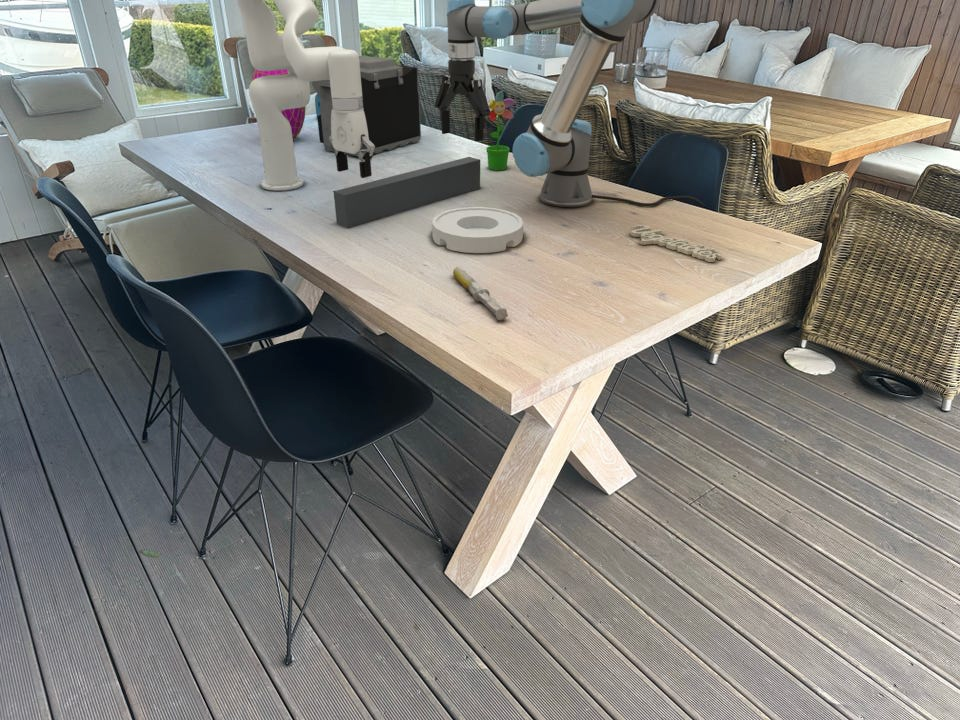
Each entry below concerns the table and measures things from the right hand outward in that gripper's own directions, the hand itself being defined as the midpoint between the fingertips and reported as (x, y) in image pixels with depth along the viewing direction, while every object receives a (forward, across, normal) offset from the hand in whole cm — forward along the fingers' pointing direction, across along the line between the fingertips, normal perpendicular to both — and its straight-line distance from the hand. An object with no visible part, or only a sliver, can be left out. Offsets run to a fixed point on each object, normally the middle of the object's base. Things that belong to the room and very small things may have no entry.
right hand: (462, 136), depth 203 cm
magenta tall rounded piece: (+15, -94, -2) cm, 95 cm away
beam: (+16, 0, -20) cm, 26 cm away
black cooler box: (+15, -63, +16) cm, 67 cm away
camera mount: (+15, -110, +36) cm, 117 cm away
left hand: (+3, 0, -41) cm, 41 cm away
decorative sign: (+17, +70, +2) cm, 72 cm away
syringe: (+16, +56, -53) cm, 79 cm away
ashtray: (+16, +31, -27) cm, 44 cm away
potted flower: (+16, -9, +27) cm, 32 cm away
